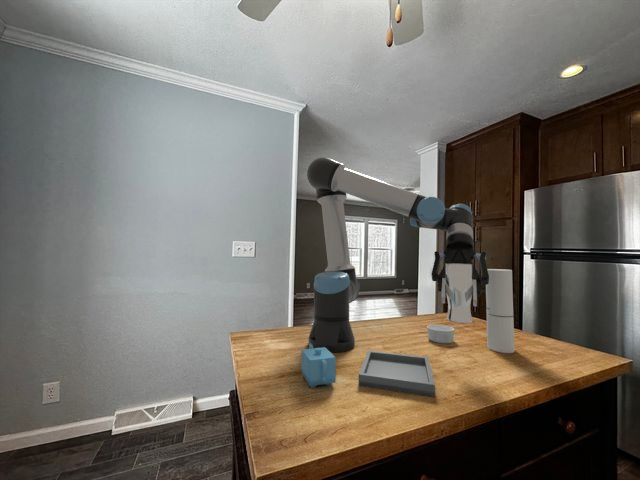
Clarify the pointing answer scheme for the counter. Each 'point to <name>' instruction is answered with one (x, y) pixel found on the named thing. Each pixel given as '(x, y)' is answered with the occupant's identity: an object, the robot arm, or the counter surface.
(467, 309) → the beer glass
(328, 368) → the teapot
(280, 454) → the counter surface
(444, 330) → the ramekin
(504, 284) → the cylindrical container
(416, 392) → the tray
